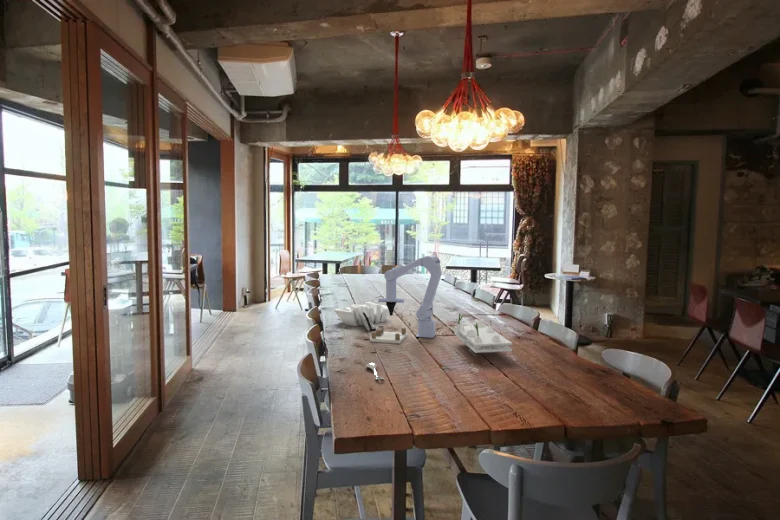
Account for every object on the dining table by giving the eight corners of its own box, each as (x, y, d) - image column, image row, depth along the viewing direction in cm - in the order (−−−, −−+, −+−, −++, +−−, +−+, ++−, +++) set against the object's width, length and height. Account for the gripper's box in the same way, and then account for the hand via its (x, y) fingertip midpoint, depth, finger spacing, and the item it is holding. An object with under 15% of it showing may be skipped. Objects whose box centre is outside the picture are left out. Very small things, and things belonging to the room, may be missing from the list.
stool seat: (407, 335, 255) (407, 327, 255) (399, 343, 240) (399, 334, 240) (379, 333, 260) (379, 325, 259) (370, 341, 244) (369, 332, 244)
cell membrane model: (512, 361, 210) (513, 324, 209) (466, 363, 208) (467, 325, 206) (486, 341, 245) (486, 309, 243) (446, 342, 242) (446, 310, 241)
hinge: (376, 330, 268) (370, 314, 266) (369, 333, 267) (363, 317, 265) (371, 323, 284) (365, 308, 282) (363, 326, 283) (358, 311, 281)
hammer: (379, 330, 259) (379, 325, 259) (383, 331, 259) (383, 325, 258) (375, 335, 250) (375, 329, 250) (380, 335, 250) (380, 329, 249)
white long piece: (387, 372, 184) (375, 373, 183) (387, 381, 184) (375, 382, 183) (375, 361, 203) (364, 361, 202) (375, 369, 204) (364, 370, 202)
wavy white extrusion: (343, 327, 275) (343, 310, 274) (332, 322, 289) (332, 305, 288) (394, 321, 293) (394, 304, 292) (382, 316, 307) (381, 300, 306)
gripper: (404, 290, 266) (404, 314, 267) (379, 289, 268) (379, 313, 269) (403, 292, 259) (403, 316, 260) (377, 291, 261) (377, 315, 262)
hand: (391, 315), depth 264 cm, fingers closed
